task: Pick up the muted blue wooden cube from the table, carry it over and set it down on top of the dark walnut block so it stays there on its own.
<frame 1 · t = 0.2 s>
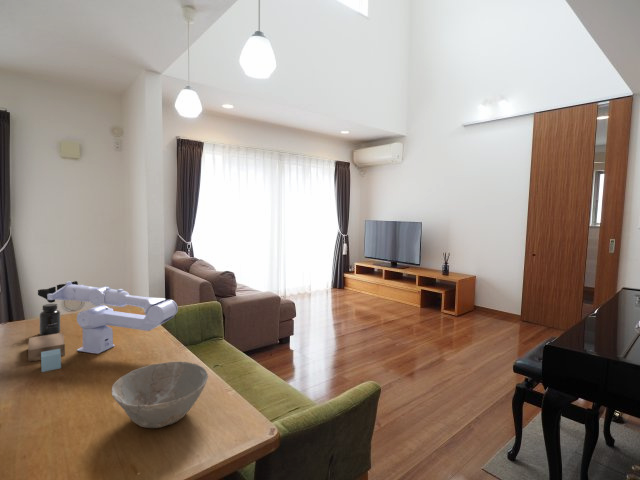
hand: (48, 289, 130), 21 cm above the table, tool horizontal, fingers open, 7 cm apart
walnut block: (46, 351, 125), on the table
supplement bottle: (50, 333, 143), on the table
ceramic bowl: (161, 418, 88), on the table
blue cube: (51, 367, 113), on the table
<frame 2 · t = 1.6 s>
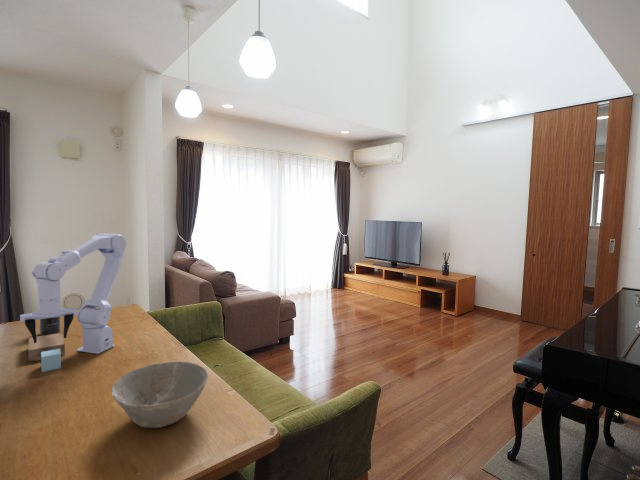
hand: (50, 339, 113), 9 cm above the table, tool pointing down, fingers open, 7 cm apart
nothing on the table moved.
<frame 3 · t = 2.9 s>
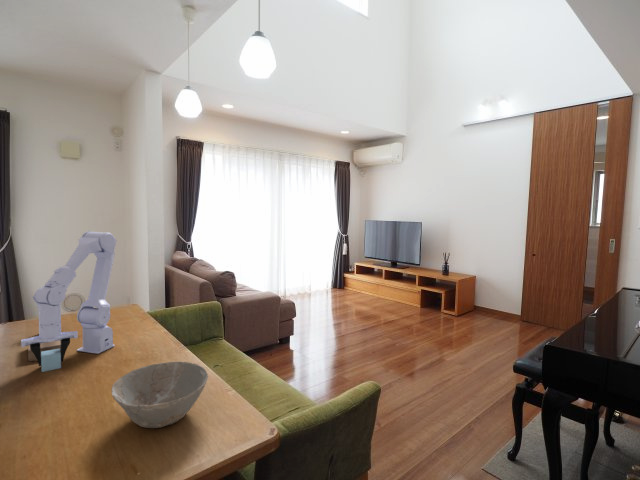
hand: (51, 363, 113), 1 cm above the table, tool pointing down, fingers closed on blue cube, 5 cm apart
blue cube: (51, 367, 113), on the table, touching gripper
everything else where it was.
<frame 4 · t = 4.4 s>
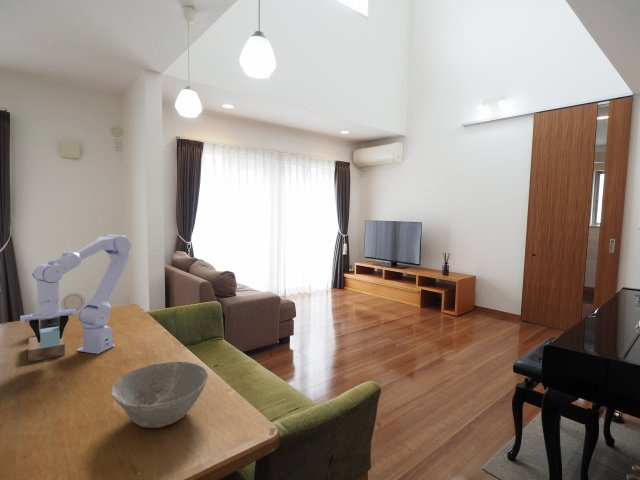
hand: (50, 339, 115), 8 cm above the table, tool pointing down, fingers closed on blue cube, 5 cm apart
blue cube: (50, 344, 115), point 7 cm above the table, touching gripper
everything else where it was.
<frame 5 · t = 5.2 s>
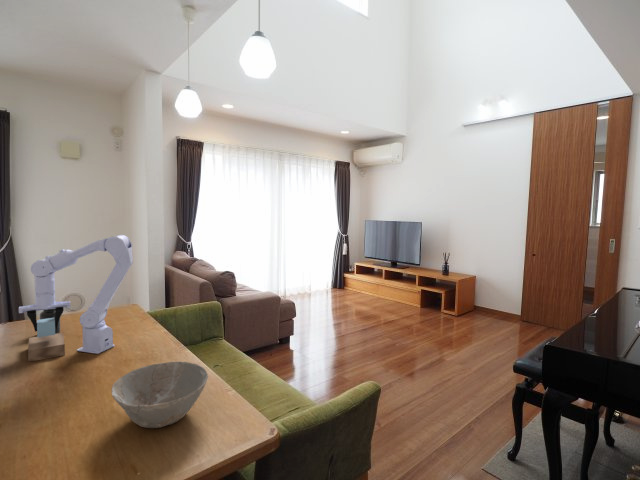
hand: (46, 329, 124), 8 cm above the table, tool pointing down, fingers closed on blue cube, 5 cm apart
blue cube: (46, 334, 124), point 7 cm above the table, touching gripper
everything else where it was.
when the fingers open (7 cm above the table, at t = 6.0 s): blue cube drops 1 cm, resting on walnut block.
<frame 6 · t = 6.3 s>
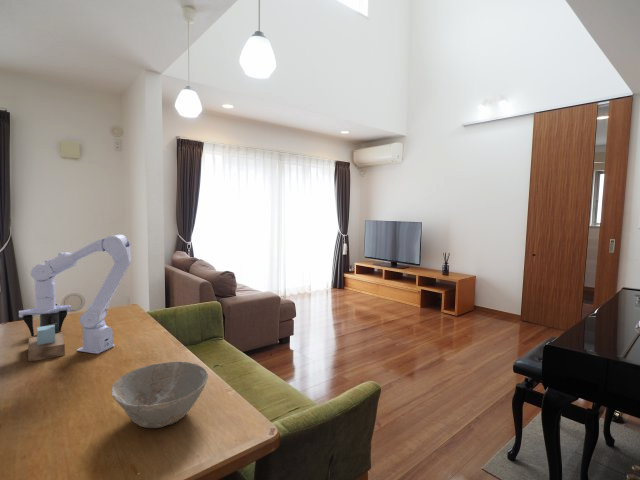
hand: (46, 333, 124), 7 cm above the table, tool pointing down, fingers open, 7 cm apart
blue cube: (46, 341, 124), point 4 cm above the table, touching walnut block
everything else where it was.
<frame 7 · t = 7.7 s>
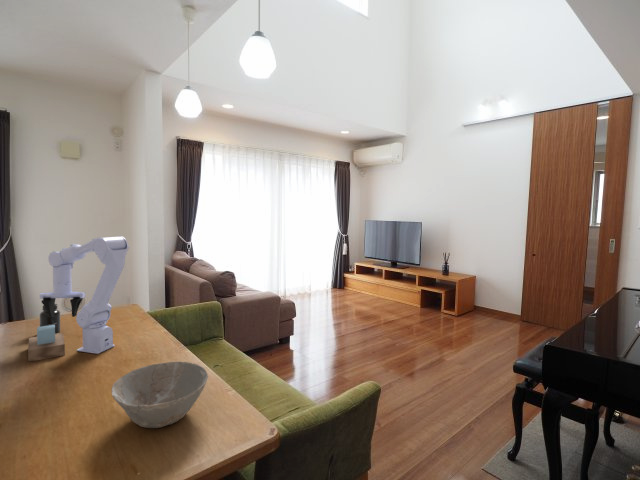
hand: (63, 316, 133), 10 cm above the table, tool pointing down, fingers open, 7 cm apart
nothing on the table moved.
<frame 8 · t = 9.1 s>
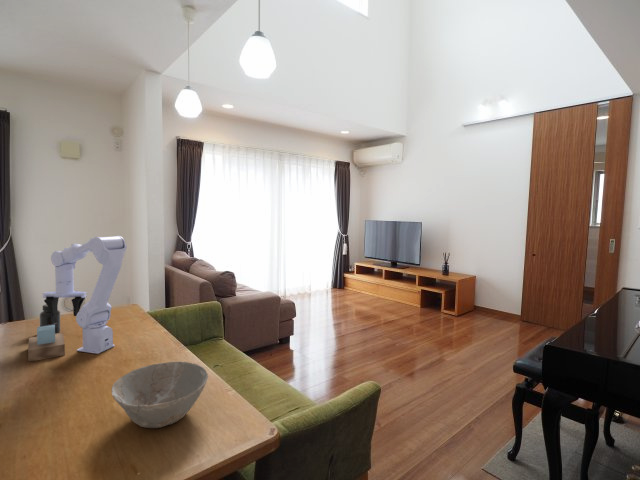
hand: (65, 315, 134), 10 cm above the table, tool pointing down, fingers open, 7 cm apart
nothing on the table moved.
at the end: blue cube inside the target area on the walnut block (0.4 cm from its centre), point 4.0 cm above the walnut block's base; blue cube tilted 0°; the gripper is holding nothing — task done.
